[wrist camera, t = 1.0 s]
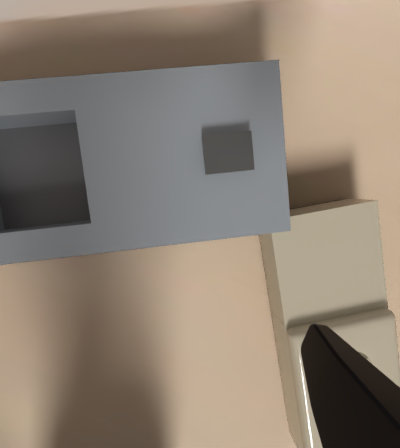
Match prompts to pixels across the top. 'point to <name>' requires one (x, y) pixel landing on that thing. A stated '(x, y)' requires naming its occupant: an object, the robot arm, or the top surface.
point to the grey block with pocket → (140, 160)
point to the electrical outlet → (328, 296)
